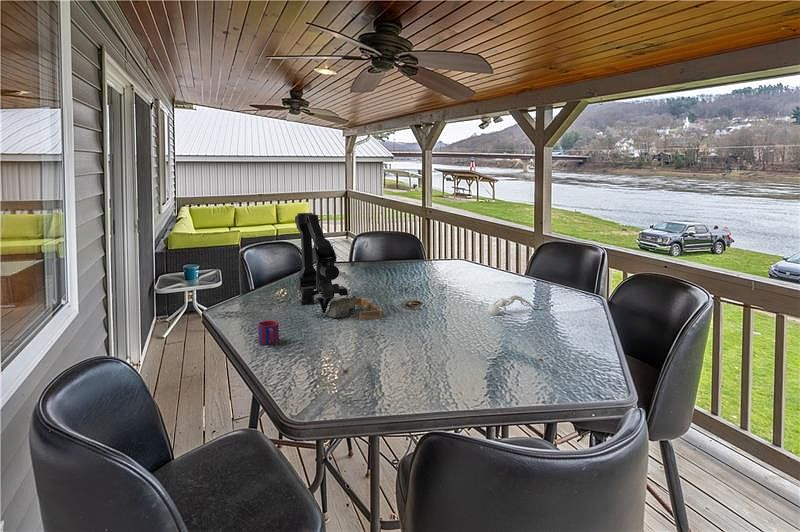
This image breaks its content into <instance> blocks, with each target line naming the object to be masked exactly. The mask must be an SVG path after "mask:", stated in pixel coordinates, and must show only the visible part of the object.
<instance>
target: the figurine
mask: <svg viewBox="0 0 800 532" xmlns="http://www.w3.org/2000/svg"><path fill="white" fill-rule="evenodd" d="M515 300H517V301H518V302H520V304H521V305H523V307H525V306H526V305H528V306H529V307H531V308H532V309H534V310H535V309H539V310H542V308H543V307H542V305H540V306H539V307H537V308H536V307H534V306H533V305H532V304H531V303H530V302H529V301H528V300H526V299H525V298H524V297H522V296H519V295H512V296H509V297H508V298H505V299H504V298H503V297H502V298H499V299H498V300H497V299H496V301H495V302H494V303H492V304H490V305H488V307H487V313H488V314H489V315H490V314H491V316H497V315H499V313H500V308H503V311H504V312H505V313H508V312H507V310H506V309H507V308H506V307H507V306H510V305H512V304H514V303H515ZM526 307H527V306H526Z"/></svg>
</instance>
